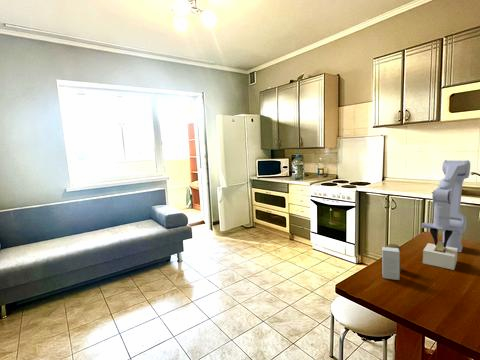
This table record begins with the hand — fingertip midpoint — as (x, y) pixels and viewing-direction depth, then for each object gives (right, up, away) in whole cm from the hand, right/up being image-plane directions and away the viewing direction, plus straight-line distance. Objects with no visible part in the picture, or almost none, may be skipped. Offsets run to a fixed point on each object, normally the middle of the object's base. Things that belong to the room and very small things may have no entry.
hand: (440, 245), depth 118 cm
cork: (-23, -10, -3) cm, 25 cm away
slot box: (+1, -8, +1) cm, 8 cm away
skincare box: (-28, -11, -9) cm, 31 cm away
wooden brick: (0, -3, 0) cm, 3 cm away
